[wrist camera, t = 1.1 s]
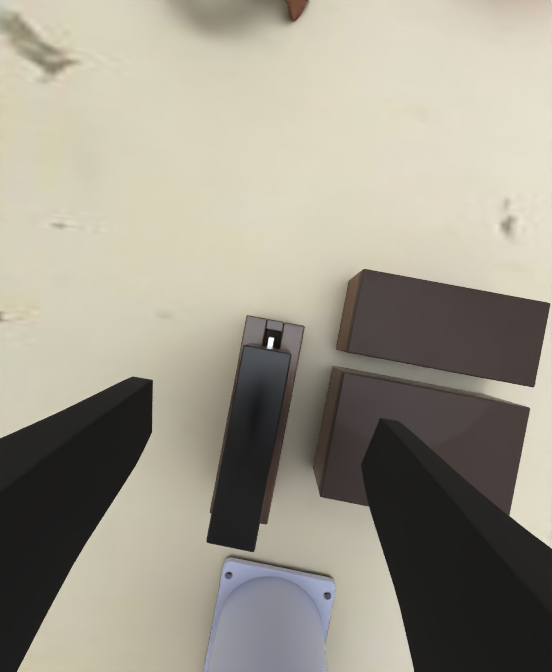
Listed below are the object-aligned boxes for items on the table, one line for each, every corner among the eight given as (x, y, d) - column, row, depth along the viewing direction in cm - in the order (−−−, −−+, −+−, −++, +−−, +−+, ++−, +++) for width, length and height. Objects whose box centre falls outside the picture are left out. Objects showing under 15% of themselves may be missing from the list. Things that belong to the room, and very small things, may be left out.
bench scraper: (263, 476, 20) (252, 564, 12) (233, 470, 20) (203, 554, 12) (289, 339, 20) (294, 342, 12) (259, 334, 20) (245, 333, 12)
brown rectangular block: (489, 378, 19) (534, 387, 16) (335, 349, 20) (347, 352, 16) (502, 308, 19) (551, 303, 16) (348, 280, 20) (363, 268, 16)
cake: (465, 498, 19) (506, 534, 16) (313, 468, 20) (319, 497, 16) (485, 394, 19) (530, 407, 16) (332, 365, 20) (343, 372, 16)
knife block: (269, 491, 20) (267, 525, 16) (221, 482, 20) (209, 513, 16) (300, 327, 20) (305, 325, 16) (252, 318, 20) (246, 315, 16)
